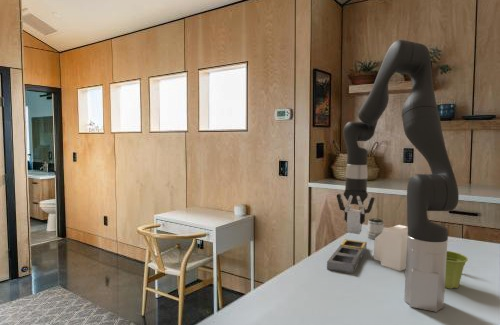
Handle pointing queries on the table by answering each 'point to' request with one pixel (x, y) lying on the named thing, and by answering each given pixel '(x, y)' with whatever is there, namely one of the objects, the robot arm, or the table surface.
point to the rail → (347, 256)
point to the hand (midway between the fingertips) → (354, 222)
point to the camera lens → (375, 228)
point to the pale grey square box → (354, 221)
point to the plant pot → (454, 269)
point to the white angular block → (392, 247)
